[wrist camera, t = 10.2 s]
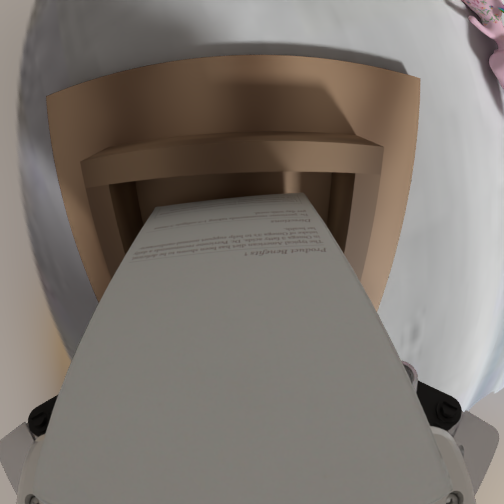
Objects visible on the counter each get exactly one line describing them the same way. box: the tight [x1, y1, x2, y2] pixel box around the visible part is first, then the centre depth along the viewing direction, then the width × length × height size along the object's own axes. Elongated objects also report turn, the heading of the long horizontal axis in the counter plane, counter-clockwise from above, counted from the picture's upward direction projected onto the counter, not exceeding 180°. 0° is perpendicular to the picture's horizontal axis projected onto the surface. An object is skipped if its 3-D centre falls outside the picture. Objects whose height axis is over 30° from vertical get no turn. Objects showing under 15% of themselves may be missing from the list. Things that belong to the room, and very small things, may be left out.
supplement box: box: [32, 193, 453, 504], centre depth 9 cm, size 7×7×13 cm
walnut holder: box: [46, 55, 420, 312], centre depth 14 cm, size 20×20×4 cm
